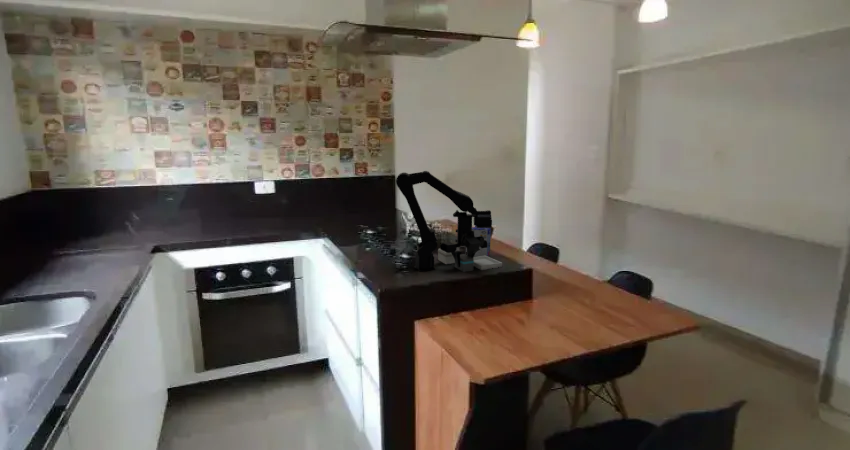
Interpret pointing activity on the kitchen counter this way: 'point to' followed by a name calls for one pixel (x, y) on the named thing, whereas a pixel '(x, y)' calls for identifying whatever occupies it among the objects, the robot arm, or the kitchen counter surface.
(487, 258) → the tray
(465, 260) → the block
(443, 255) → the block
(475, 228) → the ink cartridge box
